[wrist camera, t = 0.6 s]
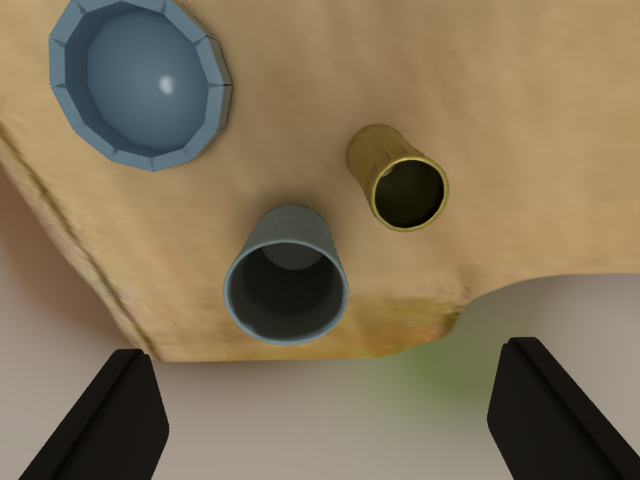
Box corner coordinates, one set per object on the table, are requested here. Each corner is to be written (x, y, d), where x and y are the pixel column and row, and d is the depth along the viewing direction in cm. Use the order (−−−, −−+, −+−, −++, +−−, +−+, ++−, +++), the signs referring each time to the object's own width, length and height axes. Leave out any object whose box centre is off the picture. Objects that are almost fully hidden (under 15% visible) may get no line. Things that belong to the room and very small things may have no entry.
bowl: (78, -26, 30) (46, -40, 27) (243, 23, 32) (234, 16, 28) (78, 140, 36) (51, 146, 32) (220, 175, 37) (209, 185, 34)
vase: (354, 191, 38) (374, 248, 25) (339, 134, 36) (353, 164, 23) (411, 175, 38) (462, 225, 24) (399, 116, 35) (449, 135, 22)
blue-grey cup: (233, 253, 41) (203, 316, 30) (274, 177, 37) (257, 216, 26) (311, 291, 43) (310, 363, 32) (356, 222, 40) (372, 276, 29)
